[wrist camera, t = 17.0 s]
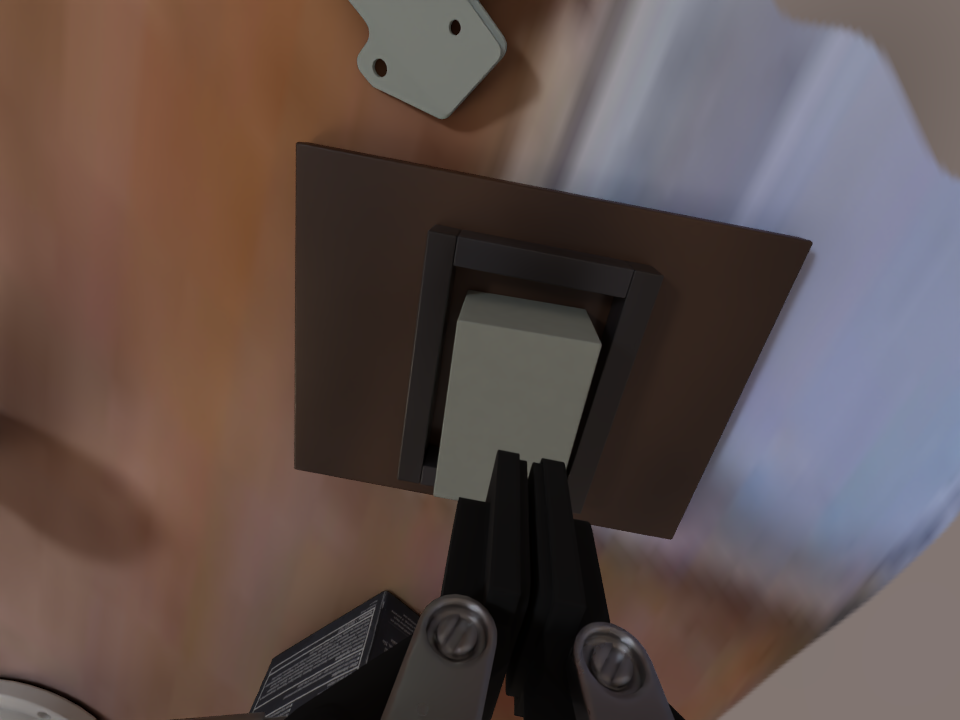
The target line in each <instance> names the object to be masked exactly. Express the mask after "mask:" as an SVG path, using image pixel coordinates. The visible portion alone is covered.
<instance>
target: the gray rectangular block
mask: <svg viewBox="0 0 960 720" xmlns="http://www.w3.org/2000/svg"><path fill="white" fill-rule="evenodd" d="M601 346H602V344H601V342H600V340H599V337H598V335H597V333H596V331H595V328H594V326H593V324H592V322H591V320H590V317H589V315H588V313H587V311H586V309H581V308H575V307H569V306H563V305H557V304H551V303H545V302H539V301H533V300H527V299H521V298H515V297H510V296H504V295H498V294H492V293H486V292H480V291H474V290H468V292H467V295H466V297H465V300H464V303H463V306H462V309H461V312H460V315H459V317H458V320H457V326H456V333H455V341H454V348H453V355H452V362H451V369H450V377H449V384H448V391H447V398H446V405H445V413H444V420H443V427H442V434H441V441H440V449H439V456H438V463H437V470H436V478H435V485H434V492H433V495H434V496H435V497H441V498H447V499H453V500H458V499H459V497H462V498H467V499H473V500H478V501H483V502H485V501H486V497H487V493H488V488H489V484H490V480H491V476H492V471H493V467H494V463H495V458H496V454H497V451H498V450H504V451H509V452H514V453H519V454H520V460H525V461H527V471H528V476H529V473H530V469H531V466H532V463H533V462H535V463H540V461H541V459H542V458H546V459H551V460H556V461H561V462H564V463H565V467H566V468H567V465H568V461H569V458H570V454H571V451H572V447H573V444H574V440H575V437H576V433H577V430H578V426H579V423H580V420H581V416H582V413H583V409H584V406H585V402H586V399H587V395H588V392H589V388H590V385H591V381H592V378H593V374H594V371H595V367H596V364H597V360H598V357H599V353H600V350H601Z"/></svg>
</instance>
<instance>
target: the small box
mask: <svg viewBox="0 0 960 720" xmlns="http://www.w3.org/2000/svg"><path fill="white" fill-rule="evenodd" d="M419 618H420V617H419V616H418V615H417V614H415V613H414V612H413V611H412V610H410V609H409V608H408V607H407V606H405V605H404V604H403V603H402V602H401V601H399V600H398V599H397V598H396V597H394V596H393V595H392V594H391V593H389V592H388V591H384V592H382V593H380V594H378V595H377V596H375V597H373V598H372V599H370V600H368V601H367V602H365V603H363V604H362V605H360V606H358V607H357V608H355V609H353V610H352V611H350V612H348V613H347V614H345V615H344V616H342V617H340V618H339V619H337V620H335V621H333V622H332V623H330V624H329V625H327V626H325V627H324V628H322V629H320V630H319V631H317V632H315V633H314V634H312V635H310V636H309V637H307V638H305V639H304V640H302V641H301V642H299V643H297V644H295V645H294V646H292V647H291V648H289V649H288V650H286V651H284V652H282V653H281V654H279V655H278V656H276V657H274V658H273V659H272V662H271V664H270V666H269V669H268V671H267V673H266V676H265V678H264V680H263V682H262V685H261V686H260V690H259V692H258V694H257V696H256V698H255V700H254V703H253V705H252V708H251V710H250V712H249V713H258V712H265V718H269V717H281V716H289V715H290V714H291V713H292V712H294V711H295V710H296V709H297V708H298V707H300V706H301V705H303V704H304V703H306V702H308V701H309V700H311V699H312V698H314V697H315V696H317V695H318V694H320V693H321V692H323V691H325V690H326V689H328V688H329V687H331V686H332V685H334V684H335V683H337V682H339V681H340V680H342V679H343V678H345V677H346V676H348V675H349V674H351V673H352V672H354V671H356V670H357V669H359V668H360V667H362V666H363V665H365V664H366V663H368V662H369V661H371V660H373V659H374V658H376V657H377V656H379V655H380V654H382V653H383V652H385V651H387V650H388V649H390V648H391V647H393V646H394V645H396V644H397V643H399V642H400V641H402V640H404V639H405V638H407V637H408V636H410V635H411V634H413V633H414V631H415V628H416V626H417V623H418V620H419Z"/></svg>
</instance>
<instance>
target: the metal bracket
mask: <svg viewBox="0 0 960 720" xmlns="http://www.w3.org/2000/svg"><path fill="white" fill-rule="evenodd" d="M349 1H350V3H351V4H352V5H353V6H354V8H355V9H356V10H357V11H358V13H359V14H360V15H361V16H362V18H363V19H364V20H365V22H366V23H367V25H368V27H369V35H370V36H369V38H368V41H367V43H366V44H365V46H364V47H363V49H362V50H361V52H360V53H359V55H358V57H357V64H358V68H359V70H360V71H361V73H362V74H363V75H364V77H365V78H366V79H367V80H368V81H369V83H370V84H371V85H372V86H373V87H375V88H377V89H379V90H381V91H383V92H385V93H387V94H390V95H392V96H394V97H396V98H398V99H400V100H402V101H404V102H406V103H408V104H410V105H412V106H414V107H416V108H418V109H420V110H422V111H425V112H427V113H429V114H431V115H433V116H435V117H437V118H440V119H445V118H447V117H449V116H450V115H451V114H452V113H453V112H454V111H455V110H456V109H457V108H458V106H459V105H460V104H461V103H462V102H463V101H464V100H465V99H466V98H467V97H468V95H469V94H470V93H471V92H472V91H473V90H474V89H475V88H476V87H477V86H478V84H479V83H480V82H481V81H482V80H483V79H484V78H485V77H486V76H487V75H488V73H489V72H490V71H491V70H492V69H493V68H494V67H495V66H496V65H497V64H498V62H499V61H500V60H501V59H502V58H503V57H504V55H505V53H506V51H507V42H506V40H505V37H504V36H503V34H502V33H501V31H500V30H499V29H498V27H497V26H496V24H495V23H494V21H493V20H492V19H491V17H490V16H489V14H488V13H487V12H486V10H485V9H484V7H483V6H482V5H481V3H480V2H479V0H349ZM454 20H457V21H459V23H460V25H461V31H460V33H459V34H458V35H454V34H453V33H452V31H451V24H452V22H453V21H454ZM378 59H382V60H383V61H385V63H386V65H387V73H386V75H385V76H384V77H380V76H379V75H378V74H377V72H376V70H375V63H376V60H378Z"/></svg>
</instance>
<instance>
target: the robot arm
mask: <svg viewBox="0 0 960 720" xmlns="http://www.w3.org/2000/svg"><path fill="white" fill-rule="evenodd" d="M505 674H506V695H508V696H513V697H514V715H515V716H520V717H524V720H685V719H684V718H683V717H682V716H681V715H680V714H679V713H678V712H677V711H676V710H675V709H674V708H673V707H672V706H671V705H670V704H669V703H668V702H667V699H666V697H665V694H664V692H663V689H662V687H661V684H660V682H659V679H658V676H657V674H656V671H655V669H654V666H653V664H652V661H651V659H650V658H649V656H648V654H647V652H646V650H645V649H644V647H643V646H642V645H641V644H640V643H639V641H638V640H637V639H636V638H635V637H634V636H632V635H631V634H630V633H629V632H627V631H626V630H625V629H623V628H621V627H618V626H616V625H614V624H611V623H610V619H609V614H608V609H607V604H606V599H605V593H604V588H603V583H602V578H601V573H600V568H599V563H598V558H597V552H596V547H595V542H594V537H593V532H592V528H591V524H590V523H589V522H588V521H583V520H578V519H573V513H572V507H571V500H570V493H569V487H568V480H567V473H566V467H565V463H564V462H561V461H556V460H551V459H546V458H542V459H541V461H540V463H535V462H533V463H532V466H531V469H530V473H529V476H528V471H527V461H525V460H520V454H519V453H514V452H509V451H504V450H498V451H497V454H496V458H495V463H494V467H493V471H492V476H491V480H490V484H489V488H488V493H487V497H486V501H485V502H483V501H478V500H473V499H467V498H462V497H459V499H458V504H457V509H456V514H455V519H454V524H453V529H452V535H451V540H450V545H449V551H448V556H447V562H446V568H445V574H444V579H443V585H442V591H441V597H440V598H437V599H435V600H433V601H432V602H431V603H430V604H429V605H428V606H426V607H425V609H424V611H423V613H422V614H421V616H420V618H419V620H418V623H417V626H416V628H415V631H414V633H413V634H411V635H410V636H408V637H407V638H405V639H404V640H402V641H400V642H399V643H397V644H396V645H394V646H393V647H391V648H390V649H388V650H387V651H385V652H383V653H382V654H380V655H379V656H377V657H376V658H374V659H373V660H371V661H369V662H368V663H366V664H365V665H363V666H362V667H360V668H359V669H357V670H356V671H354V672H352V673H351V674H349V675H348V676H346V677H345V678H343V679H342V680H340V681H339V682H337V683H335V684H334V685H332V686H331V687H329V688H328V689H326V690H325V691H323V692H321V693H320V694H318V695H317V696H315V697H314V698H312V699H311V700H309V701H308V702H306V703H304V704H303V705H301V706H300V707H298V708H297V709H296V710H295V711H294V712H292V713H291V714H290V715H289V716H281V717H269V718H265V712H258V713H246V714H234V715H221V716H209V717H197V718H185V719H172V720H490V719H491V717H492V714H493V711H494V708H495V705H496V702H497V699H498V696H499V693H500V690H501V687H502V684H503V681H504V678H505ZM0 720H97V719H96V718H95V717H94V716H93V715H91V714H90V713H88V712H87V711H85V710H84V709H83V708H81V707H80V706H78V705H76V704H74V703H73V702H71V701H69V700H67V699H66V698H64V697H61V696H59V695H57V694H54V693H52V692H50V691H48V690H45V689H42V688H39V687H36V686H33V685H29V684H25V683H21V682H17V681H11V680H3V679H0Z"/></svg>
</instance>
